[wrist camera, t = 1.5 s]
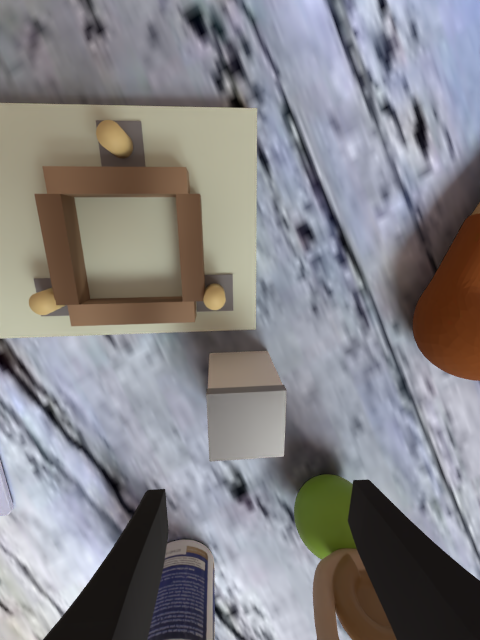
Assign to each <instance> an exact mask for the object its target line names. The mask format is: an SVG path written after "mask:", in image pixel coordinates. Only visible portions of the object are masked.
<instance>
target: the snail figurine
mask: <svg viewBox="0 0 480 640" xmlns="http://www.w3.org/2000/svg"><path fill="white" fill-rule="evenodd" d="M352 487H353V484H352V483H350V482H349V481H347V480H346V479H344V478H342V477H339V476H336V475H330V474H323V475H318V476H315V477H313V478H311V479H310V480H308V481H307V482H306V483H305V484H304V485H303V486H302V487H301V489H300V491H299V492H298V495H297V497H296V501H295V507H294V517H295V523H296V527H297V530H298V533H299V535H300V537H301V539H302V541H303V542H304V544H305V545H306V546H307V548H308V549H309V550H310V551H311V552H312V553H313V554H314V555H316V556H317V557H318V558H320V559H322V560H321V561H320V563H319V564H318V566H317V568H316V571H315V575H314V582H313V606H314V619H315V627H316V633H317V640H339V637H338V631H337V623H336V614H337V616H338V618H339V620H340V622H341V624H342V626H343V628H344V629H345V631H346V632H347V633H348V635H349V636H350V638H351V639H352V640H397V639H396V637H395V634H394V632H393V629H392V627H391V625H390V623H389V621H388V618H387V616H386V614H385V612H384V609H383V607H382V605H381V603H380V601H379V598H378V596H377V594H376V592H375V589H374V587H373V585H372V583H371V581H370V578H369V576H368V574H367V572H366V569H365V567H364V565H363V563H362V560H361V558H360V556H359V553H358V551H357V548H356V545H355V542H354V539H353V536H352V533H351V530H350V527H349V524H348V515H349V508H350V501H351V494H352ZM335 611H336V614H335Z"/></svg>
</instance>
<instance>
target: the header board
mask: <svg viewBox="0 0 480 640" xmlns="http://www.w3.org/2000/svg"><path fill="white" fill-rule="evenodd" d="M42 166H95V167H186V168H187V170H188V172H189V184H190V194H200V195H201V203H202V226H203V249H204V272H205V294H204V298H203V300H204V301H196V320H195V322H190V323H159V324H128V325H98V326H71V323H70V317H69V312H68V306H67V305H56V301H55V299H54V294H53V289H52V284H51V279H50V274H49V268H48V263H47V258H46V253H45V248H44V242H43V237H42V232H41V227H40V222H39V216H38V211H37V206H36V201H35V196H34V194H47V190H46V184H45V179H44V173H43V168H42ZM256 186H257V108H221V107H174V106H126V105H79V104H31V103H0V338H26V337H54V336H83V335H112V334H141V333H169V332H198V331H227V330H255V329H256ZM74 198H75V205H76V211H77V217H78V224H79V230H80V236H81V243H82V249H83V255H84V262H85V268H86V275H87V281H88V287H89V294H90V299H97V298H136V297H174V296H182V283H181V268H180V253H179V238H178V223H177V208H176V197H74Z"/></svg>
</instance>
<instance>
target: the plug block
mask: <svg viewBox="0 0 480 640" xmlns="http://www.w3.org/2000/svg"><path fill="white" fill-rule="evenodd" d="M206 396H207V417H208V438H209V459H210V461H224V460H239V459H254V458H269V457H283V456H284V442H285V416H286V388H285V386H284V385H282V382H281V380H280V378H279V376H278V373H277V371H276V369H275V367H274V364H273V362H272V360H271V357H270V355H269V353H268V351H250V352H225V353H210V354H209V374H208V389H207V393H206Z"/></svg>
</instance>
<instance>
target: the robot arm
mask: <svg viewBox="0 0 480 640" xmlns="http://www.w3.org/2000/svg"><path fill="white" fill-rule="evenodd" d="M13 508H14V507H13V503H12V499H11V496H10V492H9V489H8V485H7V482H6V478H5V475H4V472H3V468H2V465H1V461H0V516H2V515H8V514H10V512H11V511H12V510H13ZM348 524H349V527H350V530H351V533H352V536H353V539H354V542H355V545H356V548H357V551H358V553H359V556H360V558H361V560H362V563H363V565H364V567H365V569H366V572H367V574H368V576H369V578H370V581H371V583H372V585H373V587H374V589H375V592H376V594H377V596H378V598H379V601H380V603H381V605H382V607H383V609H384V612H385V614H386V616H387V618H388V621H389V623H390V625H391V627H392V629H393V632H394V634H395V637H396V639H397V640H480V581H479V580H478V579H477V578H475V577H474V576H473V575H472V574H470V573H469V572H468V571H467V570H465V569H464V568H463V567H462V566H461V565H459V564H458V563H457V562H456V561H455V560H453V559H452V558H451V557H450V556H449V555H448V554H446V553H445V552H444V551H443V550H442V549H441V548H440V547H438V546H437V545H436V544H435V543H434V542H433V541H432V540H431V539H430V538H428V537H427V536H426V535H425V534H424V533H423V532H422V531H421V530H420V529H419V528H418V527H417V526H416V525H414V524H413V523H412V522H411V521H410V520H409V519H408V518H407V517H406V516H405V515H404V514H403V513H402V512H401V511H400V510H399V509H398V508H397V507H396V506H395V505H394V504H393V503H392V502H391V501H390V500H389V499H388V498H387V497H386V496H385V495H384V494H383V493H382V492H381V491H380V490H379V489H378V488H377V487H376V486H375V485H374V484H373V483H372V482H371V481H370V480H353V487H352V494H351V501H350V508H349V515H348ZM167 539H168V519H167V507H166V496H165V489H158V490H148V491H147V492H146V493H145V495H144V496H143V498H142V500H141V502H140V504H139V506H138V507H137V509H136V511H135V513H134V514H133V516H132V518H131V519H130V521H129V523H128V524H127V526H126V528H125V529H124V531H123V533H122V534H121V536H120V537H119V539H118V540H117V542H116V543H115V545H114V547H113V548H112V550H111V551H110V553H109V554H108V556H107V557H106V559H105V560H104V561H103V563H102V564H101V566H100V567H99V569H98V570H97V571H96V573H95V574H94V576H93V577H92V579H91V580H90V581H89V583H88V584H87V585H86V587H85V588H84V589H83V591H82V592H81V593H80V595H79V596H78V597H77V599H76V600H75V601H74V602H73V604H72V605H71V606H70V607H69V609H68V610H67V611H66V613H65V614H64V615H63V616H62V618H61V619H60V620H59V621H58V622H57V624H56V625H55V626H54V627H53V628H52V630H51V631H50V632H49V633H48V634H47V636H46V637H45V638H44V639H43V640H148V635H149V631H150V626H151V622H152V617H153V613H154V608H155V604H156V599H157V595H158V590H159V586H160V581H161V576H162V572H163V567H164V561H165V554H166V547H167Z"/></svg>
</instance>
